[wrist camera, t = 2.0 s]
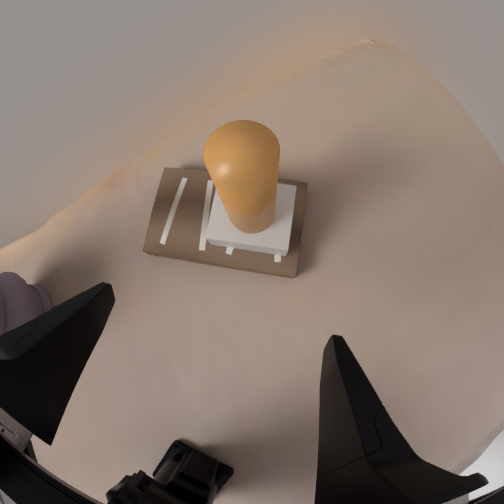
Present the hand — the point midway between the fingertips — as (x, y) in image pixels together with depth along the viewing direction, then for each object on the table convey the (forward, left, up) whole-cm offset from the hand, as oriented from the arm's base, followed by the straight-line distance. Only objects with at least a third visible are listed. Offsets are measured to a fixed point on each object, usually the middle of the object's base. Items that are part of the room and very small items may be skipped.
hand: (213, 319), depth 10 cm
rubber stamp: (+7, +3, -11) cm, 13 cm away
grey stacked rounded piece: (-14, +20, -13) cm, 28 cm away
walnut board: (+6, +5, -13) cm, 15 cm away
